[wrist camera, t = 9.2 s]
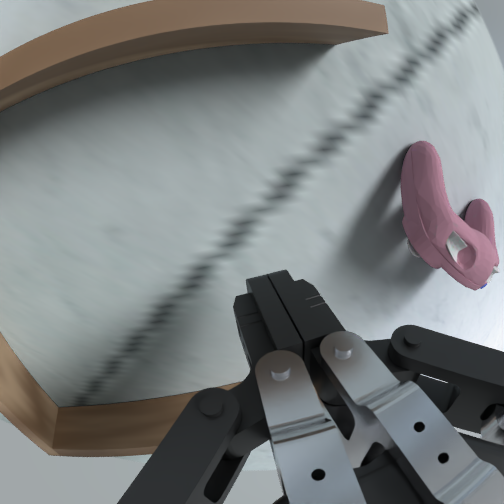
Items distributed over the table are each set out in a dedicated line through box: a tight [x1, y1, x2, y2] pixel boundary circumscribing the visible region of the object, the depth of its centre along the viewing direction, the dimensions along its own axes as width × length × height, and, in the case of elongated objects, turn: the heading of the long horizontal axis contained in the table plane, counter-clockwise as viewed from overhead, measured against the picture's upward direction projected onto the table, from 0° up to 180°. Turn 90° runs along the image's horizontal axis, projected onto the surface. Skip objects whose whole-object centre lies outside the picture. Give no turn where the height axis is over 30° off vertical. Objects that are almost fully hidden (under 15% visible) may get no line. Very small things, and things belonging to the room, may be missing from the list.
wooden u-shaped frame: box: [0, 0, 389, 457], centre depth 13 cm, size 22×23×4 cm
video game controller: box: [401, 141, 500, 290], centre depth 15 cm, size 10×5×7 cm, turn 65°
